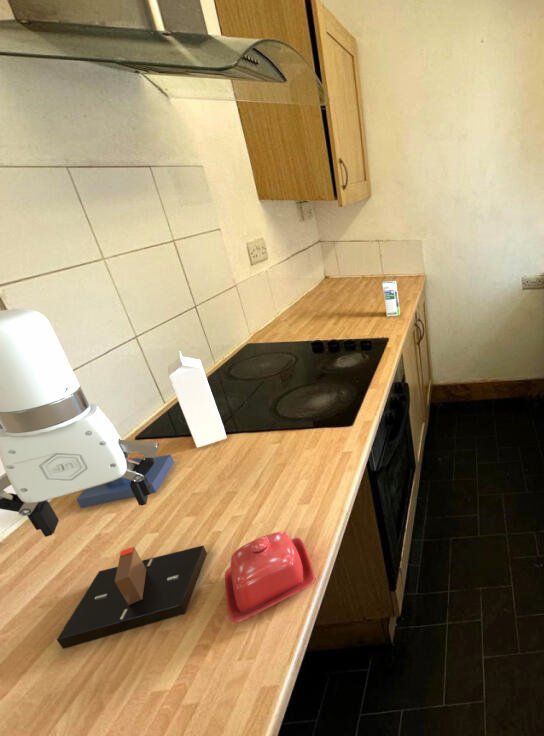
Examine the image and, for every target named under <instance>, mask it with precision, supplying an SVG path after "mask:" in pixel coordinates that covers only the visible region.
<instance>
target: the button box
mask: <svg viewBox="0 0 544 736" xmlns="http://www.w3.org/2000/svg"><path fill="white" fill-rule="evenodd" d="M131 458H132V457H131ZM132 459H133V461H135V462H138V463H140V462H141V460H142V459H143V458H141V457H133V458H132ZM174 463H175V461H174V459H173V456H172V454H165V455H160V456H156V458H155V461H154V464H153V466H152V467H151V468H150V470H149V471H148V472H147V473H146V477H147V480H148V482H149V484H150V486H151V490H152V492H151V494H155V493H157V492H158V491H159V488H160V487H161V485H162V484H163V482H164V480H165V479H166V478H167V475H168V474H169V471H170V470H171V469H172V467H173V465H174ZM130 483H131V480H128V479H125V478H122V477H120V478H118V479H116V480H114V481H111V482H108V483H105V484H102V485H98V486H95V487H92V488H88V489H85V490H82V492H81V493H80V494H79V495H78V497H77V498H76V500H75V501H76V502H77V503H78V505H79V507H80V509H83V508H88V507H89V508H90V507H93V506H99V505H103V504H107V503H112V502H117V501H122V500H128V499H131V498H135V495H134V493H133V491H132V489H131V487H130Z"/></svg>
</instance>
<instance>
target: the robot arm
mask: <svg viewBox="0 0 544 736" xmlns="http://www.w3.org/2000/svg"><path fill="white" fill-rule="evenodd" d="M75 374H76V373H75V372H74V370H73V368H72V366H71V364H70V361H69V359H68V358H67V355H66V354H65V352H64V349H63V347H62V345H61V343H60V340H59V339H58V336H57V335H56V333H55V330H54V328H53V327H52V324H51V322H50V320H49V319H48V318H47V316H46V315H44V314H43V313H41V312H39V311H38V310H33V309H27V308H13V309H2V310H0V461H1V463H2V466H3V469H4V470H5V473H3V474H2V475H0V510H5V511H11V512H17V513H18V515H19V516H22V517H27V518H28V519H29V520H30V522H31V524H32V526H33V527H34V529H35V530H36V531H39V530H40V531H41V532H42V534H43V536H44V537H45V538H46V537H50V536H52V535H53V534H55V531H56V529H57V526H58V524H59V521H60V520H59V517H58V516H57V514H56V512H55V511H54V509H53V507H52V505H51V504H50V502H49V501H50V500H53V499H58V498H60V497H65V496H67V495H71V494H75V493H78V492H81V491H84V490H85V489H88V488H92V487H95V486H98V485H102V484H105V483H108V482H111V481H114V480H116V479H118V478H120V477H122V478H125V479H128V480H131V483H130V487H131V489H132V491H133V493H134V495H135V497H134V498H135V500H136V502H137V504H138V506H145V505H147V502H148V497H149V496H150V495H151V494H152V493H151V492H152V490H151V486H150V484H149V482H148V480H147V477H146V473H147V472H148V471H149V470H150V468H151V467H152V466H153V464H154V461H155V458H156V457H157V454H158V452H159V446H160V443H159V442H157V441H149V440H148V441H147V440H132V439H122V437H121V436H120V434H119V433H118V431H117V428H116V427H114V425H113V424H112V422H111V421H110V419H109V418H108V417H107V416H106V414H105V413H104V412H103V410H101V408H100V407H99V406H98V405H97V404H95V403H89V401H88V399H87V397H86V395H85V393H84V391H83V388H82V386H81V385H80V382H79V380H78V378H77V376H76V375H75ZM129 453H133V454H134V453H136V454H143V455H144V456H143V458H141V459H142V460H141V462H140V463H138V462H135V461H132V460H129V457H130V454H129ZM10 486H11V487H12V488H13V491H14V492H15V493H14V492H13V493H11V492H7V491H5V490H6V489H7V488H8V487H10Z"/></svg>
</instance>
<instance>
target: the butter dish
mask: <svg viewBox="0 0 544 736" xmlns="http://www.w3.org/2000/svg"><path fill="white" fill-rule="evenodd" d="M223 580H224V581H223V582H224V591H225V593H224V594H225V599H226V608H227V614H228V617H229V620H230V622H231V623H233V624H237V623H241V622H243V621H245V620H247V619H249V618H252V617H253V616H256V615H257V614H259V613H261V612H264V611H265V610H267V609H269V608H272V606H275V605H277V604H279V603H280V602H282V601H285V600H286V599H289V598H290V597H292V596H294V595H296V594H299V593H300V592H303V591H304V590H306V589H307V588H309V587H310V586H312V585H313V584H314V583H315V582H316V573H315V569H314V566H313V565H312V561H311V558H310V556H309V553H308V550H307V548H306V545H305V543H304V541H303V539H302V538H301V537H293V538H292V537H290V535H289V534H288V533H287V532H285V531H277V532H273V533H269V534H266V535H264V536H260V537H257V538H255V539H253V540H251V541H249V542H247V543H246V544H244V545H242V546H240V547H239V548H238V549H236V550H235V551H234V552H233V554H231V558H230V567H228V568H227V569H226V571H225V572H224V576H223Z"/></svg>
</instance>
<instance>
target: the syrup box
mask: <svg viewBox="0 0 544 736" xmlns="http://www.w3.org/2000/svg"><path fill="white" fill-rule="evenodd" d="M381 285H382V293H383V298H384V299H383V300H384V305H385V314H386V318H387V317H388V318H389V317H399V316H401V310H400V309H401V308H400V301H399V293H398V286H397V280H389V281H382V283H381Z"/></svg>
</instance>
